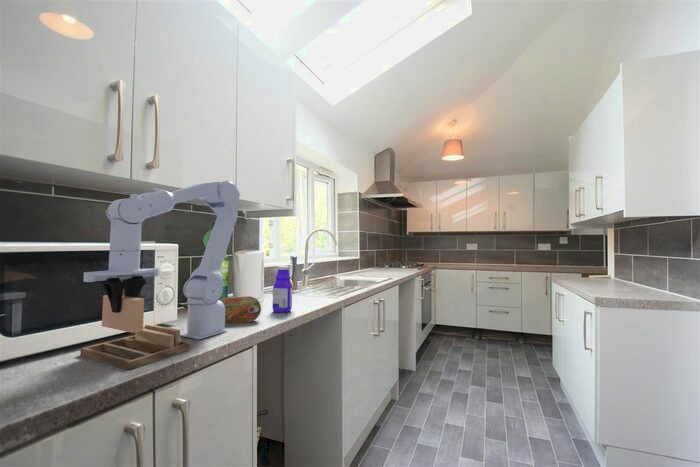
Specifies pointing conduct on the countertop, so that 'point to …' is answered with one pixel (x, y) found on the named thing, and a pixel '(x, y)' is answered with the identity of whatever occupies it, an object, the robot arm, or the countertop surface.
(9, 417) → the countertop surface
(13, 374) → the countertop surface
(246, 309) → the tin
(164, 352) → the rack
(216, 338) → the countertop surface
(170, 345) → the offcuts
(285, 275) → the bottle
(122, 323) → the block
